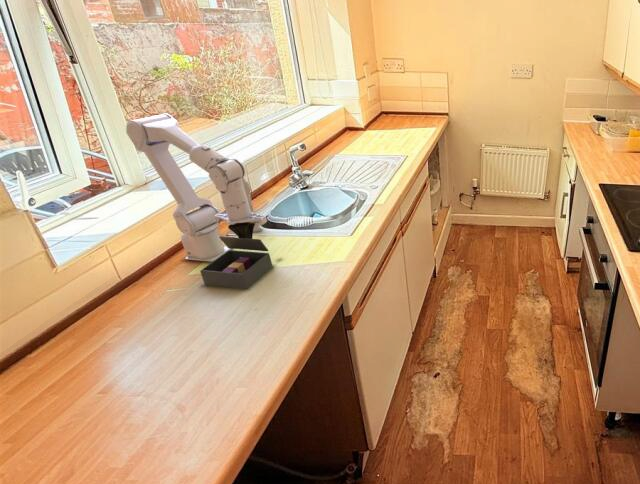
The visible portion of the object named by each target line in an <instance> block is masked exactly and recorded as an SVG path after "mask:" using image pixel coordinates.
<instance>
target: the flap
mask: <svg viewBox="0 0 640 484" xmlns="http://www.w3.org/2000/svg"><path fill="white" fill-rule="evenodd" d="M219 238H220V239H221V240H222V243H223V245H224V246H226V247H228V248H231V249H230V250H242V251H255V252H269V249H268V247H267V246H266V244H264V242H263V241H262V239H259V238H252V239H248V238H239V237H234V236H223V235H222V236H221V235H220V237H219Z"/></svg>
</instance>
